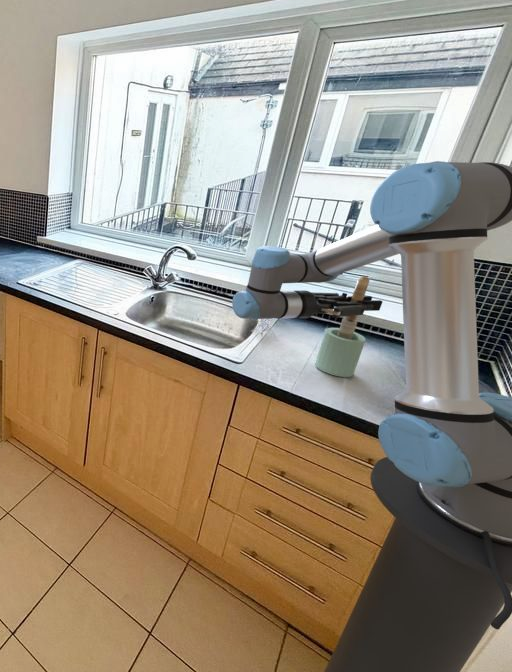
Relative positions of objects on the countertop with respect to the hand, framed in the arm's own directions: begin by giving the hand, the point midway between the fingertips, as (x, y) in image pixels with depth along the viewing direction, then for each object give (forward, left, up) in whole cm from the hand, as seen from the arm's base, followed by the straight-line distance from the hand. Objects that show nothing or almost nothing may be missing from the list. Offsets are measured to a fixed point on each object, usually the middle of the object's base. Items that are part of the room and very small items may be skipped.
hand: (374, 303), depth 114 cm
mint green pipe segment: (-4, +4, -20) cm, 21 cm away
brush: (-4, +4, -12) cm, 13 cm away
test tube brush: (+15, +23, -20) cm, 34 cm away
